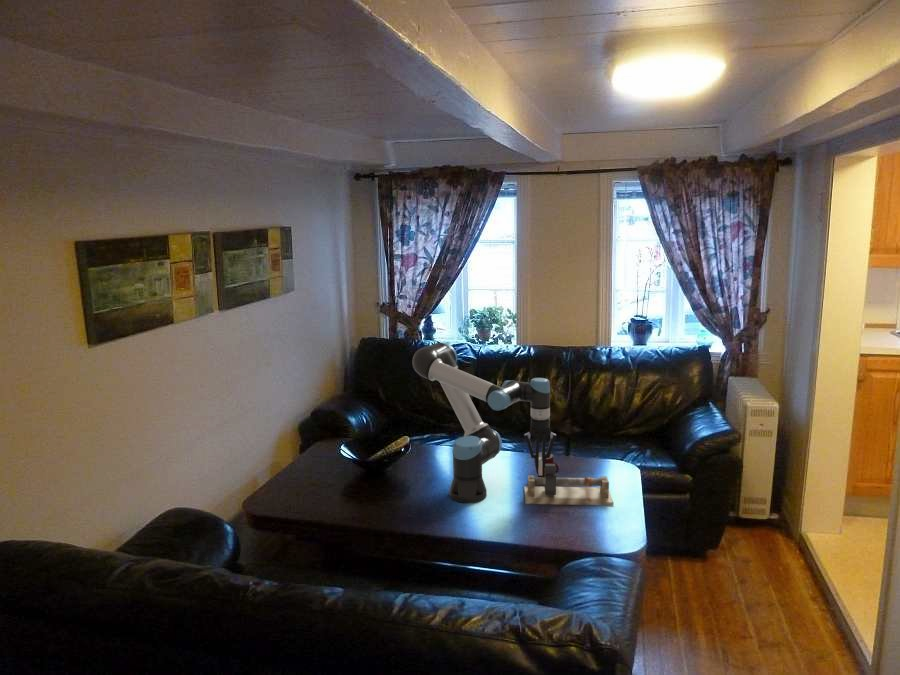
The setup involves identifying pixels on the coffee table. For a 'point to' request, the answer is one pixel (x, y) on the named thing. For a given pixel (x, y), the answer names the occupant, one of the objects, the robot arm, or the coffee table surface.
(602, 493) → the pipe rig
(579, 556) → the coffee table surface
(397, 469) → the coffee table surface
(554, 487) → the collar
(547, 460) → the mug
